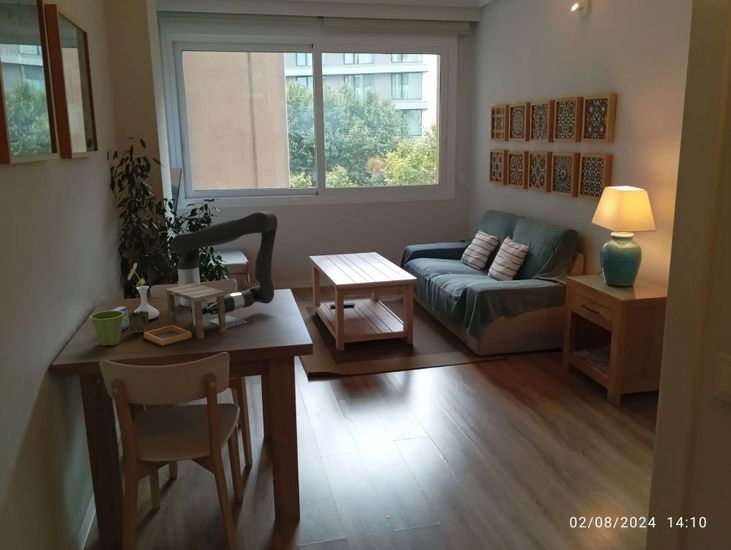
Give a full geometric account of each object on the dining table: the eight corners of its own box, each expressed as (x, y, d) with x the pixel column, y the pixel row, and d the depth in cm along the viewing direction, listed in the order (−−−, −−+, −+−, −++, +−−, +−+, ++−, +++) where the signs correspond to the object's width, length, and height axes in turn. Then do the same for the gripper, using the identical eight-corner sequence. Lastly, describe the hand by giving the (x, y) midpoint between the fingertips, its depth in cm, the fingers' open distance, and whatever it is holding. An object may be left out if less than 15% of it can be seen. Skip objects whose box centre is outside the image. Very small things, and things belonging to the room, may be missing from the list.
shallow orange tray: (144, 338, 230) (143, 332, 229) (172, 331, 238) (172, 325, 238) (162, 346, 220) (162, 340, 220) (191, 338, 229) (191, 332, 228)
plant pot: (115, 349, 218) (112, 319, 216) (86, 348, 221) (82, 318, 218) (133, 338, 230) (130, 310, 227) (105, 337, 232) (101, 309, 229)
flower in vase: (141, 314, 263) (135, 258, 258) (165, 315, 261) (159, 259, 255) (123, 323, 251) (117, 264, 245) (148, 324, 248) (142, 265, 243)
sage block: (193, 325, 239) (191, 301, 237) (203, 322, 242) (201, 298, 240) (199, 327, 236) (197, 302, 234) (209, 324, 239) (207, 300, 237)
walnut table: (168, 328, 241) (164, 289, 238) (197, 321, 250) (193, 283, 247) (198, 340, 226) (194, 297, 223) (227, 331, 236) (224, 291, 232)
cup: (135, 329, 242) (133, 310, 240) (153, 329, 241) (151, 310, 240) (127, 335, 234) (125, 315, 233) (146, 335, 234) (143, 315, 232)
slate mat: (207, 321, 250) (207, 320, 249) (228, 316, 257) (228, 315, 257) (227, 328, 240) (227, 327, 240) (247, 322, 247) (247, 321, 247)
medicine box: (118, 333, 237) (116, 312, 236) (108, 332, 238) (105, 311, 236) (130, 327, 245) (127, 306, 243) (120, 326, 246) (117, 306, 244)
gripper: (220, 291, 252) (183, 299, 240) (239, 296, 243) (202, 305, 230) (221, 308, 254) (185, 317, 242) (241, 314, 244) (204, 324, 232)
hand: (194, 311), depth 236 cm, fingers closed on sage block, 4 cm apart
